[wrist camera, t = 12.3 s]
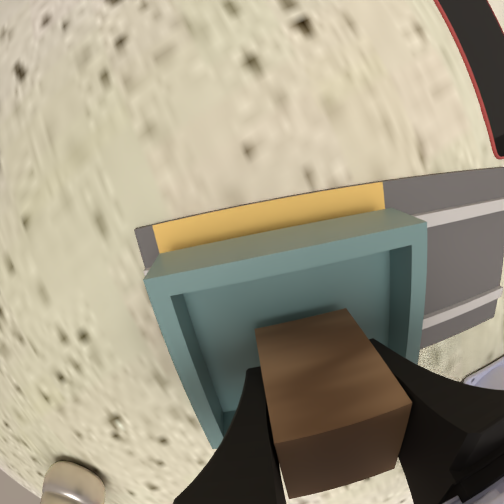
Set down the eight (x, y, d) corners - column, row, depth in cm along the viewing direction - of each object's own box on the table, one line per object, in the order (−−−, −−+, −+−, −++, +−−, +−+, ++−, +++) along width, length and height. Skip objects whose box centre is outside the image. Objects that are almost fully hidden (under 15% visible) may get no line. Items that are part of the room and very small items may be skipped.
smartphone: (475, -22, 11) (538, 139, 15) (471, -20, 11) (533, 139, 16) (418, -27, 11) (497, 163, 15) (414, -24, 12) (491, 163, 16)
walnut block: (346, 307, 13) (412, 402, 7) (347, 375, 14) (394, 468, 8) (254, 329, 13) (274, 443, 7) (269, 394, 14) (289, 499, 8)
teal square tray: (382, 204, 15) (427, 221, 11) (383, 360, 18) (410, 399, 14) (163, 247, 14) (143, 279, 11) (213, 399, 18) (212, 448, 14)
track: (503, 166, 16) (509, 168, 15) (491, 315, 19) (496, 318, 19) (135, 228, 15) (131, 231, 14) (196, 401, 19) (195, 408, 18)
